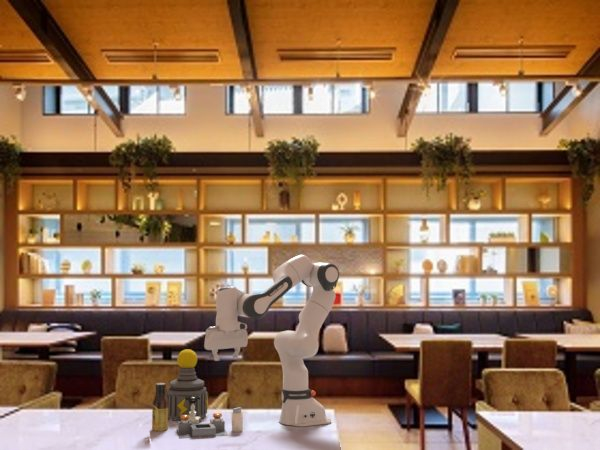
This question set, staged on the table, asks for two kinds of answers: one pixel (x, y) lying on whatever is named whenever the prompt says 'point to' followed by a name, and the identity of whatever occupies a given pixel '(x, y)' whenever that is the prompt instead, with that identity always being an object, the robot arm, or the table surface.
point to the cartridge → (237, 420)
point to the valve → (192, 414)
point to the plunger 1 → (184, 418)
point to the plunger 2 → (217, 416)
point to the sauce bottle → (160, 409)
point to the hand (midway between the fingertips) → (226, 359)
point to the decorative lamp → (186, 389)
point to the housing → (201, 429)
